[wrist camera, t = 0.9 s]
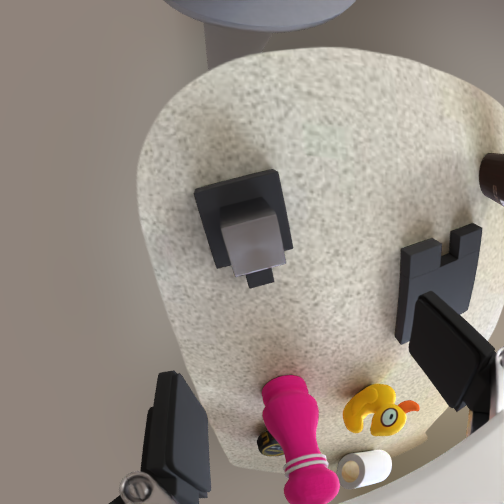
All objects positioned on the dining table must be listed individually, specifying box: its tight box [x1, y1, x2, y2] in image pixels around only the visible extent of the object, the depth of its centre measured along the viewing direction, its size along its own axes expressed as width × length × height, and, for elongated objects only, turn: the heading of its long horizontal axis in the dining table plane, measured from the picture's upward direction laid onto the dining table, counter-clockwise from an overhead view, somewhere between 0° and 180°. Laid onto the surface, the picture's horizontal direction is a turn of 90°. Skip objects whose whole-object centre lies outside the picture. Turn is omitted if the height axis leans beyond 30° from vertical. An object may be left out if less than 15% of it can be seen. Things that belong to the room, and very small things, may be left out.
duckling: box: [343, 384, 420, 436], centre depth 34 cm, size 11×5×10 cm, turn 123°
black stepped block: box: [194, 169, 293, 288], centre depth 22 cm, size 10×7×8 cm
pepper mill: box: [262, 375, 340, 504], centre depth 26 cm, size 7×7×20 cm
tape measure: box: [257, 430, 284, 456], centre depth 38 cm, size 7×7×4 cm
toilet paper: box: [337, 450, 392, 489], centre depth 48 cm, size 10×10×10 cm
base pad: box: [395, 223, 482, 345], centre depth 31 cm, size 14×14×2 cm
